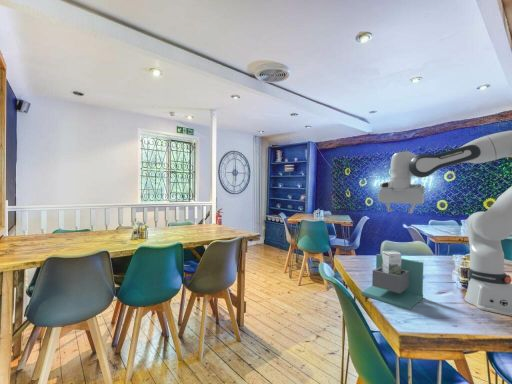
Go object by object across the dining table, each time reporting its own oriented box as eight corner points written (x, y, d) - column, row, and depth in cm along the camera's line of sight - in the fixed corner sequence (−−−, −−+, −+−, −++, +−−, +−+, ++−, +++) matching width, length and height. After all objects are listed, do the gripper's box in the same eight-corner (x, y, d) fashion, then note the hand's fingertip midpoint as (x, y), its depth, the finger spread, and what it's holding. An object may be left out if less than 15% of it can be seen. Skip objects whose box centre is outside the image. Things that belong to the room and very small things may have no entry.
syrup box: (393, 281, 122) (393, 250, 122) (401, 286, 116) (401, 253, 116) (381, 281, 122) (381, 250, 122) (388, 286, 116) (389, 253, 116)
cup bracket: (423, 297, 119) (423, 262, 119) (410, 309, 107) (410, 270, 107) (377, 285, 134) (378, 253, 134) (361, 294, 121) (362, 260, 121)
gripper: (426, 184, 125) (425, 213, 126) (381, 184, 140) (381, 210, 140) (422, 184, 121) (421, 214, 121) (376, 184, 136) (376, 211, 136)
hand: (399, 212), depth 131 cm, fingers open, 8 cm apart
